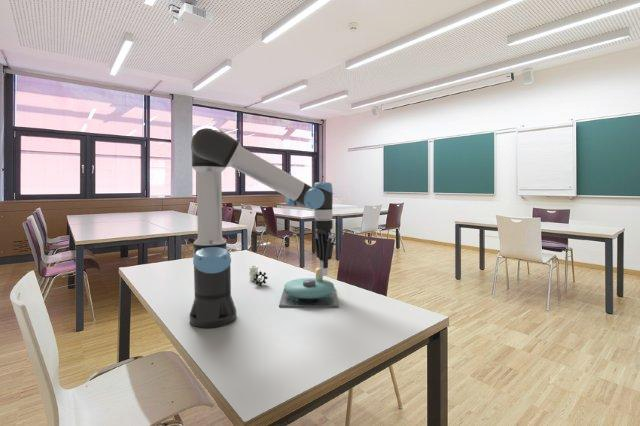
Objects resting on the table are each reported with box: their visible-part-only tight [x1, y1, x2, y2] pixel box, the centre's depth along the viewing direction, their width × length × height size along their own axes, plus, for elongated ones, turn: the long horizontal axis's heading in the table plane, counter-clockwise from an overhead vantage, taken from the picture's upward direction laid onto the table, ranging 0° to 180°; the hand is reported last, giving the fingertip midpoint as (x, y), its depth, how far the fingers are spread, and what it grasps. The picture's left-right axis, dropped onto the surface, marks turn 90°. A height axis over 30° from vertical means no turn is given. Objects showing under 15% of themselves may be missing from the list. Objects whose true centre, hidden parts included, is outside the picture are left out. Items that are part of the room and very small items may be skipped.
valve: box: [248, 265, 269, 287], centre depth 155 cm, size 7×7×12 cm
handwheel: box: [283, 267, 335, 299], centre depth 135 cm, size 20×20×7 cm
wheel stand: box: [278, 286, 339, 308], centre depth 135 cm, size 22×22×3 cm
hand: (324, 275), depth 140 cm, fingers closed
